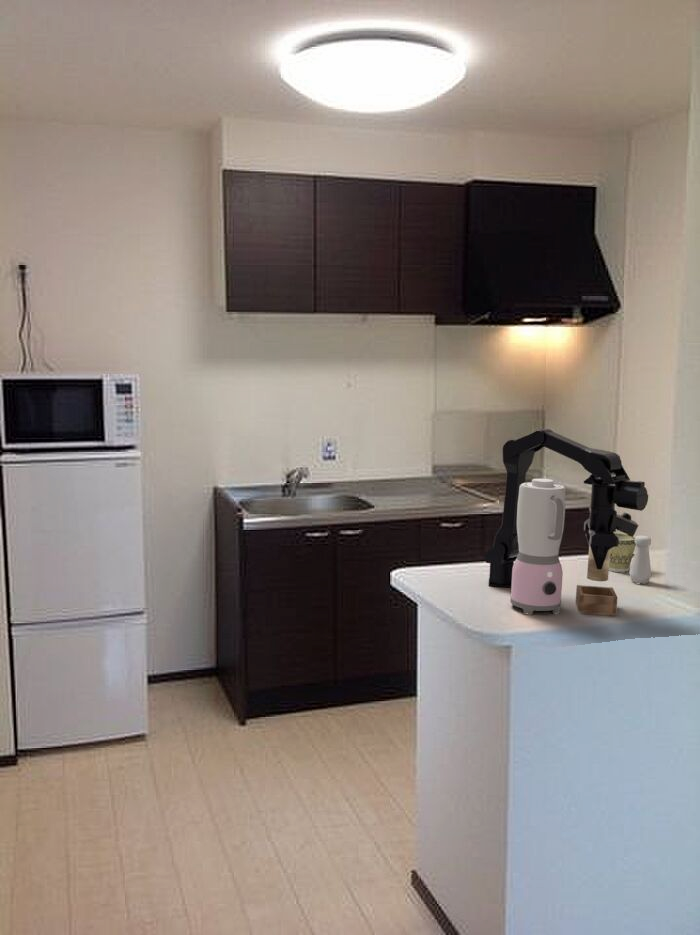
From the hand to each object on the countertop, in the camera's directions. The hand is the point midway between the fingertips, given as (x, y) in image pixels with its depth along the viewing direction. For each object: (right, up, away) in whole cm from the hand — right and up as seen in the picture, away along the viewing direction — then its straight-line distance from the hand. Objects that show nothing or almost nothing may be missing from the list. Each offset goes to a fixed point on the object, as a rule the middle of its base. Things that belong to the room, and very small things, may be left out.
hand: (598, 566), depth 217 cm
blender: (-15, -11, 0) cm, 18 cm away
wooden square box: (0, -11, +2) cm, 11 cm away
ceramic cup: (+18, -6, +41) cm, 45 cm away
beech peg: (0, -3, 0) cm, 3 cm away
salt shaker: (+19, -8, +28) cm, 34 cm away
